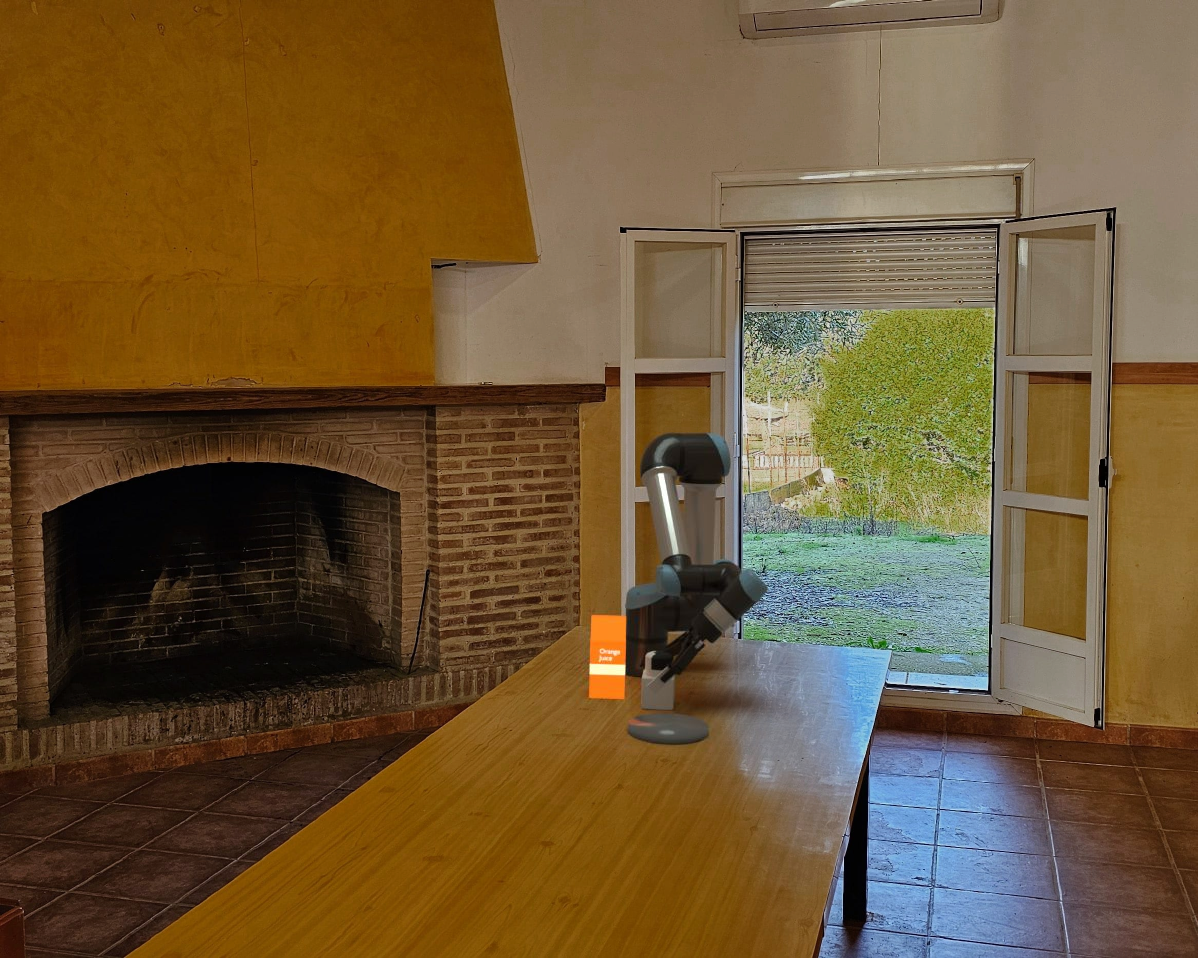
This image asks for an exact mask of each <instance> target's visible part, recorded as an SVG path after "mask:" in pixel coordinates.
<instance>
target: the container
mask: <svg viewBox="0 0 1198 958" xmlns="http://www.w3.org/2000/svg"><path fill="white" fill-rule="evenodd" d="M672 660H673V661H674V659H673V656H672V655H671V654H670V653H668V652H664V651H652V652H649V653H647V654H646V658H645V670H644V671H643V675H642V677H641V689H640V691H641V692H640V693H641V694H640V696H641V697H640V708H641V709H642V710H659V711H673V710H674V707H675V705H674V704H675V691H676V690H675V687H676V686H675V683H676V675H675V676H674V677H673V678H672V679H671V680H670V681H669V682H668V683H667V684H666V685H664V686H663V687H662V688H661V689H660V690H659V691H658V692H657V693H656V694H655V693H654V692H653V691H652V690H651V689H650V688H649V687H648V686H647V685H648V684H649V683H650V682H651V681H652V680H653V679H654V678H655V677H656V676H658V675H659V674H660V673H661V672H662V671H663V670H664V669H665V668H666V667H667V666H666V665H667V664H669V663H670V664H671V663H672Z"/></svg>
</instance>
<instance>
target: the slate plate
mask: <svg viewBox="0 0 1198 958" xmlns="http://www.w3.org/2000/svg"><path fill="white" fill-rule="evenodd" d="M627 722H628V723H627V732H628V734H629V735H630V736H632V737H634V739H635V738H636V739H637V740H641V741H644V742H648V743H652V744H659V743H660V744H661V745H686V744H693V743H697V742H700V741H703V740H705V739H706V738H707V737H708V736H709V724H708V723H707V722H706V721H705V720H702V719H700V718H698V717H695V716H691V715H687V714H681V713H668V712H657V713H656V712H654V713H646V714H641V715H638V716H634V717H633V718H631V719H629V720H628V721H627Z"/></svg>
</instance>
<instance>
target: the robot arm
mask: <svg viewBox="0 0 1198 958" xmlns="http://www.w3.org/2000/svg"><path fill="white" fill-rule="evenodd" d="M731 462H732V461H731V454H730V449H729V445H728V443H727V441H726V439H725V438H724V437H723V436H722V435H721V434H718V433H709V432H691V433H690V432H688V433H687V432H681V433H680V432H678V433H677V432H667V433H663V434H661V435H657V436H656V438H655V437H654V438H653V440H652V441H651V442H650V443H649V444H648V445H647V447H646V448H645V450H644V451H643V454H642V456H641V460H640V465H639V476H640V479H641V484H642V485H643V486H644V487H646V491H647V496H648V501H649V506H650V510H651V511H650V513H651V517H652V521H653V527H654V531H655V537H656V543H657V547H658V552H659V557H660V562H661V564H660V565H658V566H657V567H656V569H655V571H654V572H655V574H654V580H655V582H650V583H642V584H638V585H635V586H631V588H629V589H628V590H627V593H626V597H625V604H624V608H625V616H626V650H625V656H626V658H625V675H628V676H633V677H641V678H642V675H643V671H644V670H645V658H646V654H647V653H649V652H652V651H664V652H668V653H670V654H671V655H672V656H673V660H672V663H671V664H670V663H669V664H667V665H666V666H667V667H666V668H665V669H664V670H663V671H662V672H661V673H660V674H659V675H658V676H656V677H655V678H654V679H653V680H652V681H651V682H650V683H649V684H648V685H647V686H648V687H649V688H650V689H651V690H652V691H653V692H654V693H655V694H656V693H657V692H658V691H659V690H660V689H661V688H662V687H663V686H664V685H666V684H667V683H668V682H669V681H670V680H671V679H672V678H673V677H674V676H675V677H676V676H680V675H681V674H682V673H683V672H684V671H685V670H686V669H687V667H688V666H689V664H690V663H691V662H692V661H693V660H694V659H695V657H696V656H697V655H698V654H699V653H700V651H702V650H703V648H705V646H706V644H705V643H704V642H705V640H707V641H708V643H710V644H714V643H716V641H718V639H720V638H721V637H722V635H723V632H727V631H728V630H729V629H730V628H734V627H735V623H736V622H737V621H738V620H739V619H741V618H742V616H744V615H745V614H746V613H747V612H748V611H750V609H751V608H753V606H755V605H756V604H757V603H758V602H760V600H761V599H762V598H763V597H764V596H765V594H766V593H767V592H768V590H769V589H768V585H767V584H766V583H765V582H764V581H763V580H762V579H761V578H760V577H759V576H758V575H757V574H756V573H755V571H753V570H752V569H751V568H746V569H745V570H743V571H742V570H741V567H739V566H738V565H737V564H735V563H734V562H733V561H731V560H729V559H727V558H720V559H718V560H716V561H714V558H715V557H714V552H715V551H714V550H715V530H716V529H715V527H716V525H715V524H716V503H717V501H716V500H717V489H718V488H719V487H721V486H722V485H723V478H726V477H727V476H729V474H730V471H731V466H732V465H731ZM677 479H678V483H679V484H680V485H681V486H682V488H683V489H684V490H683V491H684V492H683V493H684V494H683V514H682V509H681V505H680V500H679V495H678V491H677V485H676V481H677ZM675 632H677V633H678V632H680V633H682V632H683V633H682V634H680V635H679V636H678V637H676V638H675V639H674V640H672V641H671V642H670V643H669V633H675Z"/></svg>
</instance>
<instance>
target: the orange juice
mask: <svg viewBox="0 0 1198 958" xmlns="http://www.w3.org/2000/svg"><path fill="white" fill-rule="evenodd" d="M590 621H591V625H590V627H591V629H590V645H589V647H590V648H589V690H588V692H589V693H588V697H589V699H609V700H610V699H612V700H613V699H615V700H625V689H626V687H625V685H626V683H625V682H626V680H625V679H626V674H625V658H626V656H625V650H626V615H607V614H606V615H602V614H600V615H599V614H591V620H590Z"/></svg>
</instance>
